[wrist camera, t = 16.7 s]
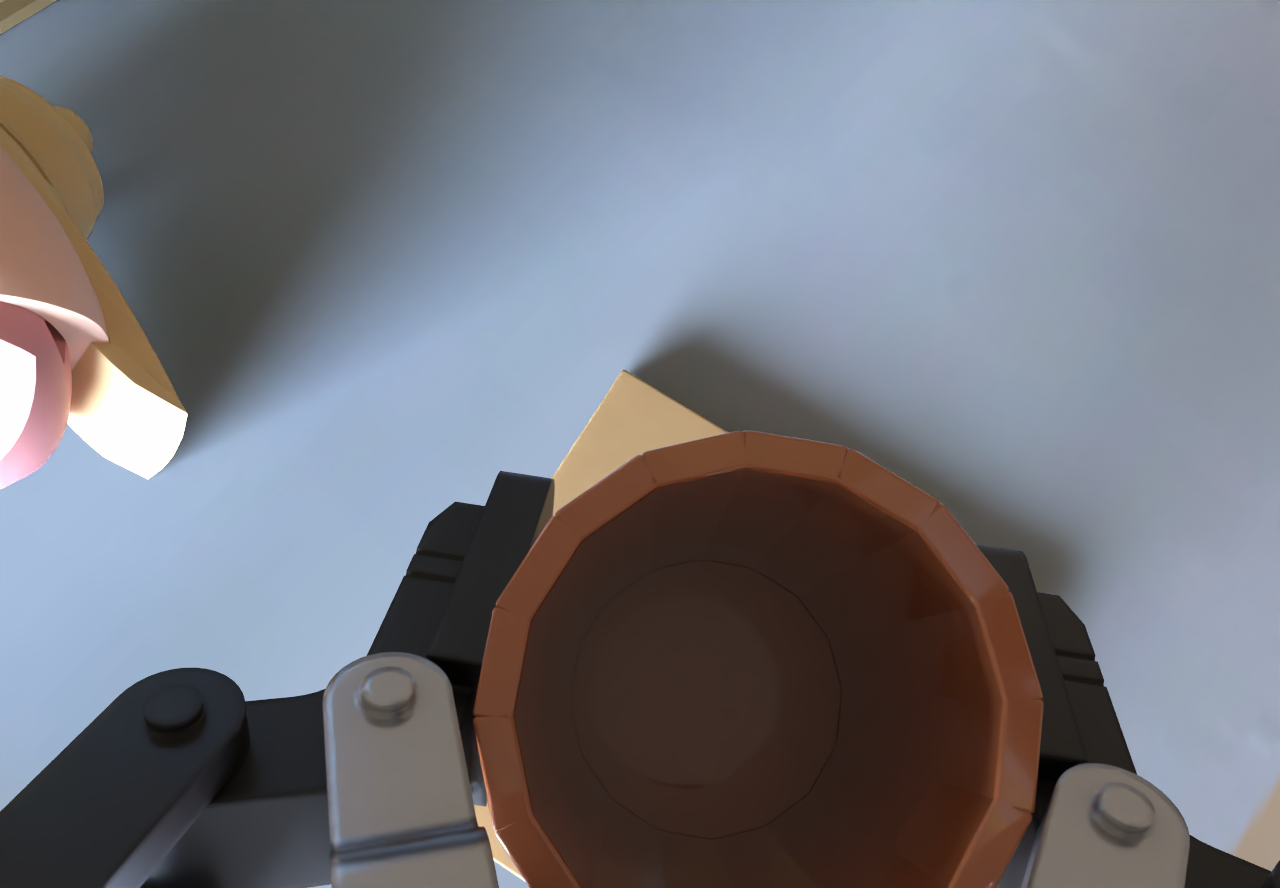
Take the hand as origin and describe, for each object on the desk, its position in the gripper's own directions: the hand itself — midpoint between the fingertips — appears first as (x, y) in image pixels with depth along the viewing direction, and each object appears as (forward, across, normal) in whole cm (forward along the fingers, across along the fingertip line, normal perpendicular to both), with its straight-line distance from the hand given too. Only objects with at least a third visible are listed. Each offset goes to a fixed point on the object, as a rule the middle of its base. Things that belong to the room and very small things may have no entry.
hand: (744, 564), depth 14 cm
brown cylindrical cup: (+2, 0, +5) cm, 5 cm away
